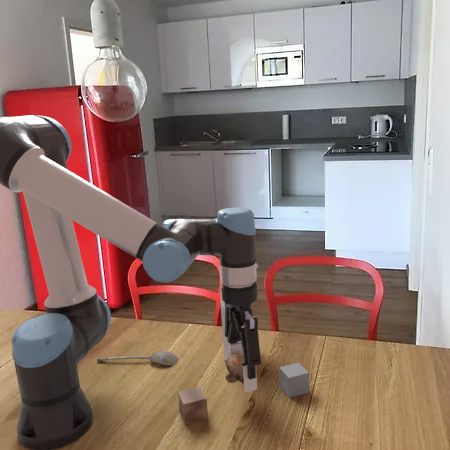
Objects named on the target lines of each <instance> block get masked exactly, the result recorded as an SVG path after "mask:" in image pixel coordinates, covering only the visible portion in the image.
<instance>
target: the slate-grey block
mask: <svg viewBox="0 0 450 450" xmlns="http://www.w3.org/2000/svg"><path fill="white" fill-rule="evenodd" d="M278 374H279V375H278V376H279V387H280V388H281V389H282V391H283V393H285V395H286V396H287V397H288V398H295V397H298V396H301V395H305V394H308V393H310V373H309V371H308V370H307V369H306V368H305V367H304V366H303V365H302V364H301V363H300V362H296V363H295V362H294V363H292V364H288V365H287V364H286V365H283V366H279V367H278Z"/></svg>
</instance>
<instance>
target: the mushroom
mask: <svg viewBox="0 0 450 450" xmlns="http://www.w3.org/2000/svg"><path fill="white" fill-rule="evenodd" d="M244 362H245V361H244V355H242V354H232V355H231V356H230V357H228V358H227V361H226V363H225V366H226V368H227V371H228V372H226V374H225V380H226V382H228V383H229V384H236V382H239V383H242V384H243V385H244V378H243V366H242V364H241V363H244ZM256 370H257V377H258V367H257V366H256Z"/></svg>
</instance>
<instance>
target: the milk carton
mask: <svg viewBox="0 0 450 450" xmlns="http://www.w3.org/2000/svg"><path fill="white" fill-rule="evenodd" d="M219 289H220V290H219V291H220V292H219V293H220V313H221V314H220V315H221V328H222V329H221V330H222V331H221V332H222V344H223V345H222V346H223V360H224V361H226V362H227V358H228V357H229V344H230V343H228V337H226V336H225V302H224V301H223V300H222V291H221V287H219ZM243 327H244V326H242V327H241V328H243ZM239 342H240V343H241V341H238V342H237V343H239ZM241 349H242V344H241ZM242 355H243V350H242Z"/></svg>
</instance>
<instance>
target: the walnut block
mask: <svg viewBox="0 0 450 450" xmlns="http://www.w3.org/2000/svg"><path fill="white" fill-rule="evenodd" d="M177 397H178V407H179V413H180V416H181V418H182V421H183V423H184V425H185V426H189V425H191V424H195V423H199V422H202V421H207V420H209V413H208V412H209V411H208V410H209V409H208V399H207V397H206V395H205V393H204V391H203V389H202V387H201V386H196V387H192V388H188V389H183V390H180V391H177Z"/></svg>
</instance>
